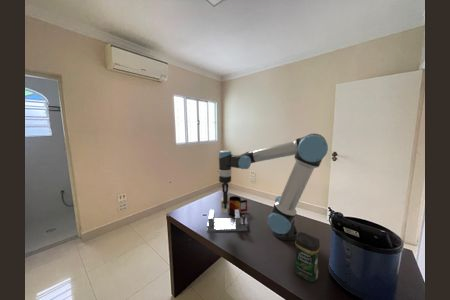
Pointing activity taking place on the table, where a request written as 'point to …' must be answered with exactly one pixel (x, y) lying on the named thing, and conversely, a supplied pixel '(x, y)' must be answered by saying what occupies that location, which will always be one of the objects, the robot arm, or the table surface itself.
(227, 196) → the block
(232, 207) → the mug
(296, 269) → the coffee jar
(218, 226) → the vise bed
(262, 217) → the table surface
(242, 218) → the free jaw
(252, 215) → the table surface
